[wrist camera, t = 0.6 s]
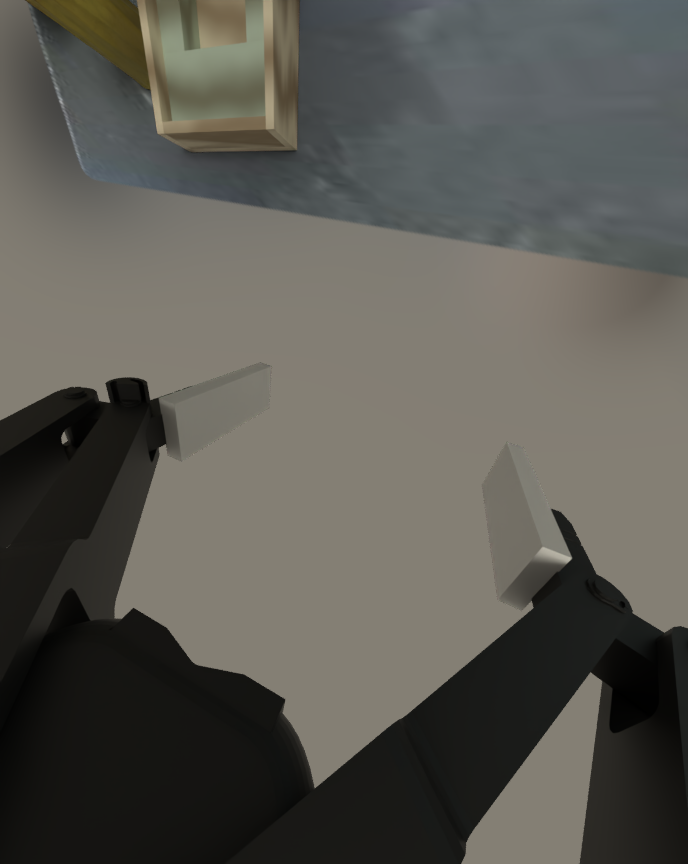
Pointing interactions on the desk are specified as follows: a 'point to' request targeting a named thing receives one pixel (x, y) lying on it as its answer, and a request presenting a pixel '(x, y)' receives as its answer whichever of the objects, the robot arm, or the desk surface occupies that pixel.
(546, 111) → the desk surface
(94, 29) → the vase
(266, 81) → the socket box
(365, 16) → the desk surface
